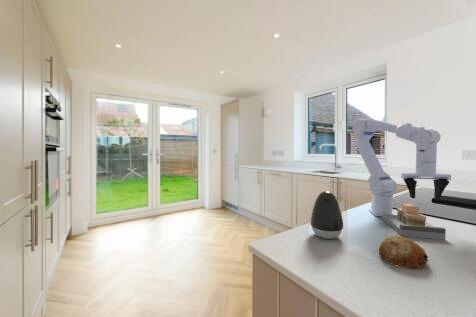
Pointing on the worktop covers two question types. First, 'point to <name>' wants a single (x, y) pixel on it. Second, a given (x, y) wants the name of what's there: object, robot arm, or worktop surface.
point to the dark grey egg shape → (326, 216)
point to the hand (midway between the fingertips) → (424, 198)
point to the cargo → (410, 208)
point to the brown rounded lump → (403, 252)
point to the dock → (415, 228)
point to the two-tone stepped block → (411, 218)
